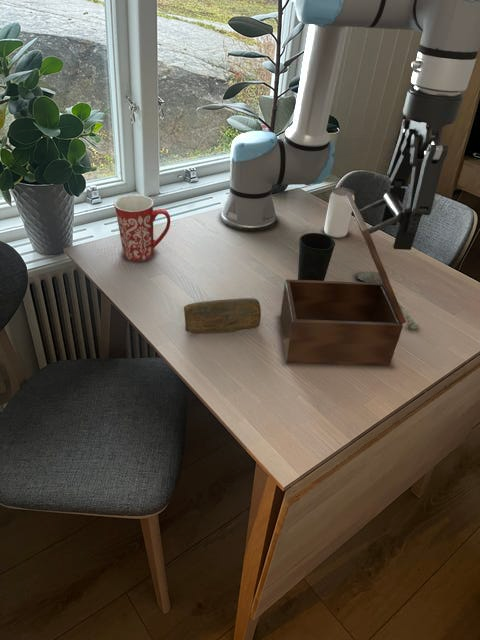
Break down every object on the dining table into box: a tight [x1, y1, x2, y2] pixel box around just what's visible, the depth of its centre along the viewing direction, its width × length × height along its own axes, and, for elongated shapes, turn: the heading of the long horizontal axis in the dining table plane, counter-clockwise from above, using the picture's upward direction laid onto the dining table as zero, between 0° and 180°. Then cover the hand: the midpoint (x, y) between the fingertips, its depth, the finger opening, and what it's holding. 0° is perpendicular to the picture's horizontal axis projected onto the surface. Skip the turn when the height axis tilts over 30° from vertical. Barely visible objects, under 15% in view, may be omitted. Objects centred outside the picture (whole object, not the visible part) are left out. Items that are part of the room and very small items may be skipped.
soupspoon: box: [356, 271, 419, 330], centre depth 106 cm, size 22×3×7 cm
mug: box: [113, 194, 171, 262], centre depth 113 cm, size 13×9×14 cm
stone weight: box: [183, 297, 262, 334], centre depth 94 cm, size 15×7×7 cm, turn 103°
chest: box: [279, 278, 404, 367], centre depth 91 cm, size 20×14×10 cm
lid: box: [346, 191, 407, 325], centre depth 82 cm, size 21×14×7 cm
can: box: [323, 186, 355, 239], centre depth 128 cm, size 6×6×12 cm
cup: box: [297, 232, 336, 281], centre depth 106 cm, size 8×8×12 cm
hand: (394, 235), depth 80 cm, fingers closed on lid, 8 cm apart
